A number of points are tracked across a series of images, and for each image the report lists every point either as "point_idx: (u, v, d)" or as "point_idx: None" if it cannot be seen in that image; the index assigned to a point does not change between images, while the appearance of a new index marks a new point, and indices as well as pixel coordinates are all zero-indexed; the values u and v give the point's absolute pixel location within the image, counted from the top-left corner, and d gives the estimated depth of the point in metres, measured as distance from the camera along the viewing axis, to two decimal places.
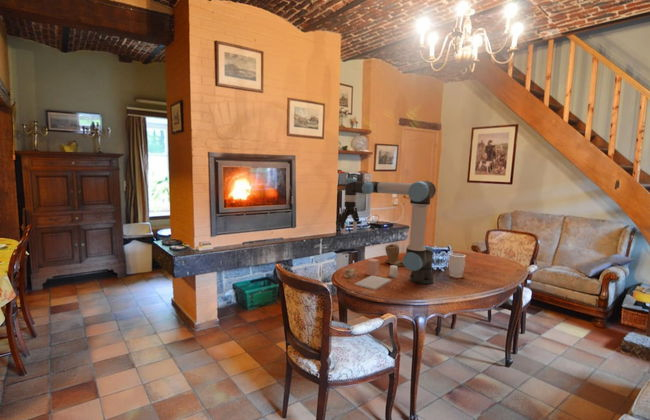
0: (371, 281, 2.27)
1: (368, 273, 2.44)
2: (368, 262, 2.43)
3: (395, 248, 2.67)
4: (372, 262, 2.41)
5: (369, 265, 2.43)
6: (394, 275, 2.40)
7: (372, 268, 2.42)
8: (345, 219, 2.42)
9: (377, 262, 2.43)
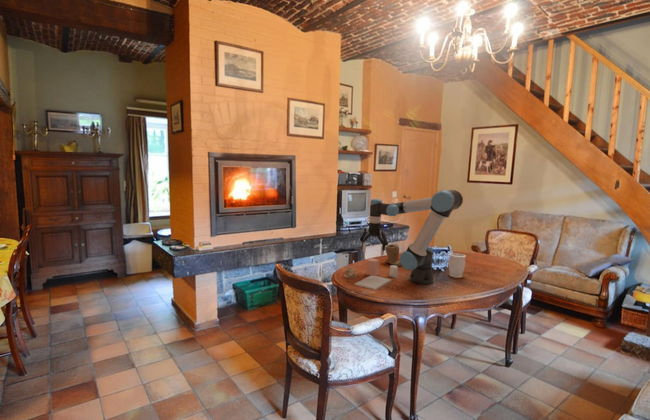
0: (371, 281, 2.27)
1: (368, 273, 2.44)
2: (368, 262, 2.43)
3: (395, 248, 2.67)
4: (372, 262, 2.41)
5: (369, 265, 2.43)
6: (394, 275, 2.40)
7: (372, 268, 2.42)
8: (364, 238, 2.45)
9: (377, 262, 2.43)
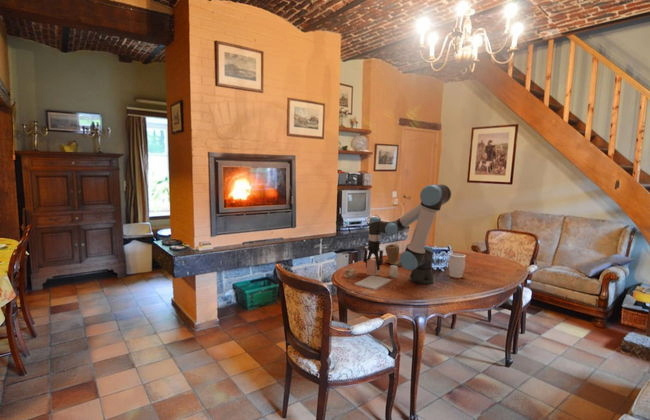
0: (371, 281, 2.27)
1: (368, 273, 2.44)
2: (368, 262, 2.43)
3: (395, 248, 2.67)
4: (372, 262, 2.41)
5: (369, 265, 2.43)
6: (394, 275, 2.40)
7: (372, 268, 2.42)
8: (367, 258, 2.46)
9: None
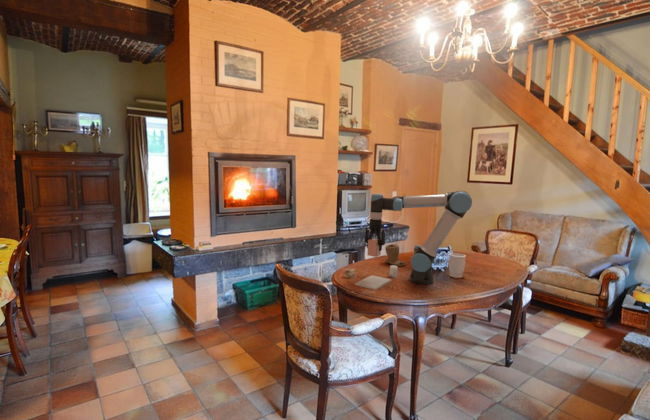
0: (371, 281, 2.27)
1: (369, 254, 2.29)
2: (369, 242, 2.28)
3: (395, 248, 2.67)
4: (373, 242, 2.27)
5: (370, 245, 2.28)
6: (394, 275, 2.40)
7: (374, 248, 2.27)
8: (368, 238, 2.31)
9: None
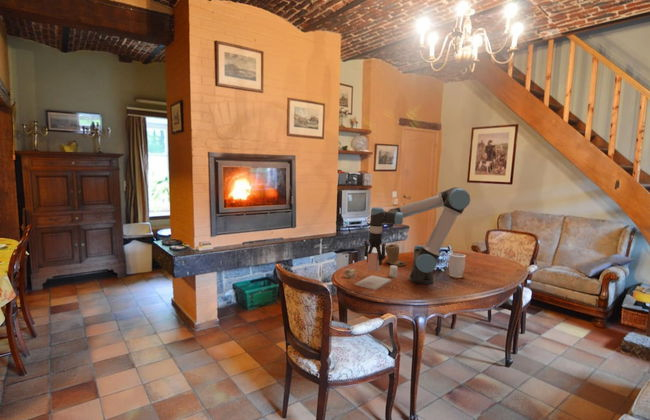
0: (371, 281, 2.27)
1: (369, 268, 2.25)
2: (369, 256, 2.24)
3: (395, 248, 2.67)
4: (373, 256, 2.22)
5: (370, 259, 2.24)
6: (394, 275, 2.40)
7: (374, 262, 2.22)
8: (368, 252, 2.26)
9: None
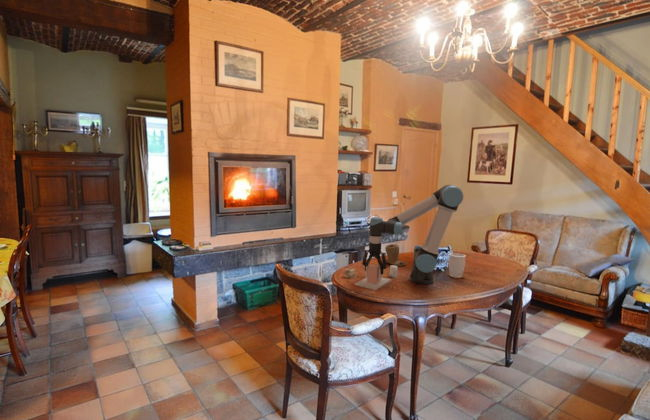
0: None
1: (369, 280, 2.26)
2: (369, 268, 2.25)
3: (395, 248, 2.67)
4: (373, 268, 2.23)
5: (370, 271, 2.25)
6: (394, 275, 2.40)
7: (374, 274, 2.23)
8: (366, 261, 2.28)
9: (379, 268, 2.25)
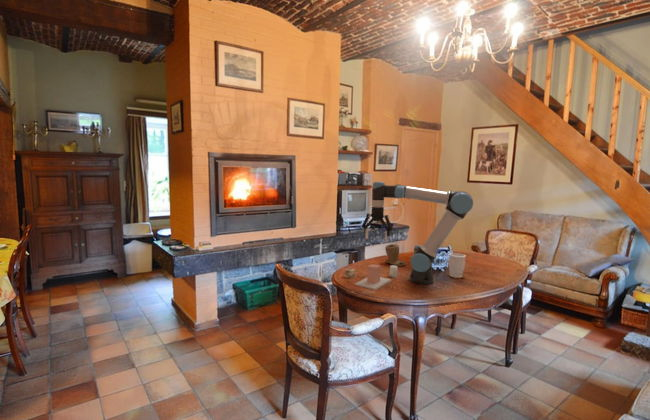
0: None
1: (369, 280, 2.26)
2: (369, 268, 2.25)
3: (395, 248, 2.67)
4: (373, 268, 2.23)
5: (370, 271, 2.25)
6: (394, 275, 2.40)
7: (374, 274, 2.23)
8: (367, 224, 2.30)
9: (379, 268, 2.25)
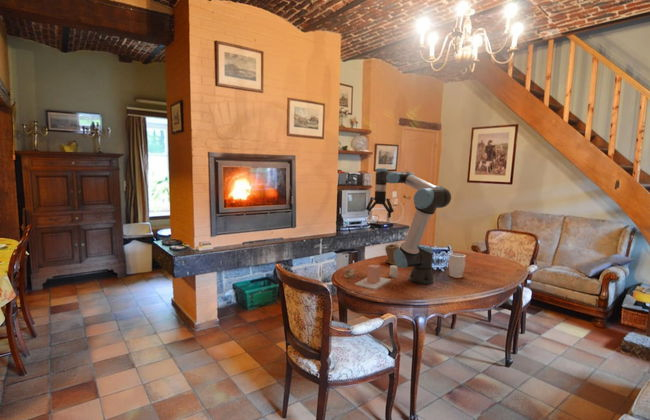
0: None
1: (369, 280, 2.26)
2: (369, 268, 2.25)
3: (395, 248, 2.67)
4: (373, 268, 2.23)
5: (370, 271, 2.25)
6: (394, 275, 2.40)
7: (374, 274, 2.23)
8: (370, 207, 2.54)
9: (379, 268, 2.25)
